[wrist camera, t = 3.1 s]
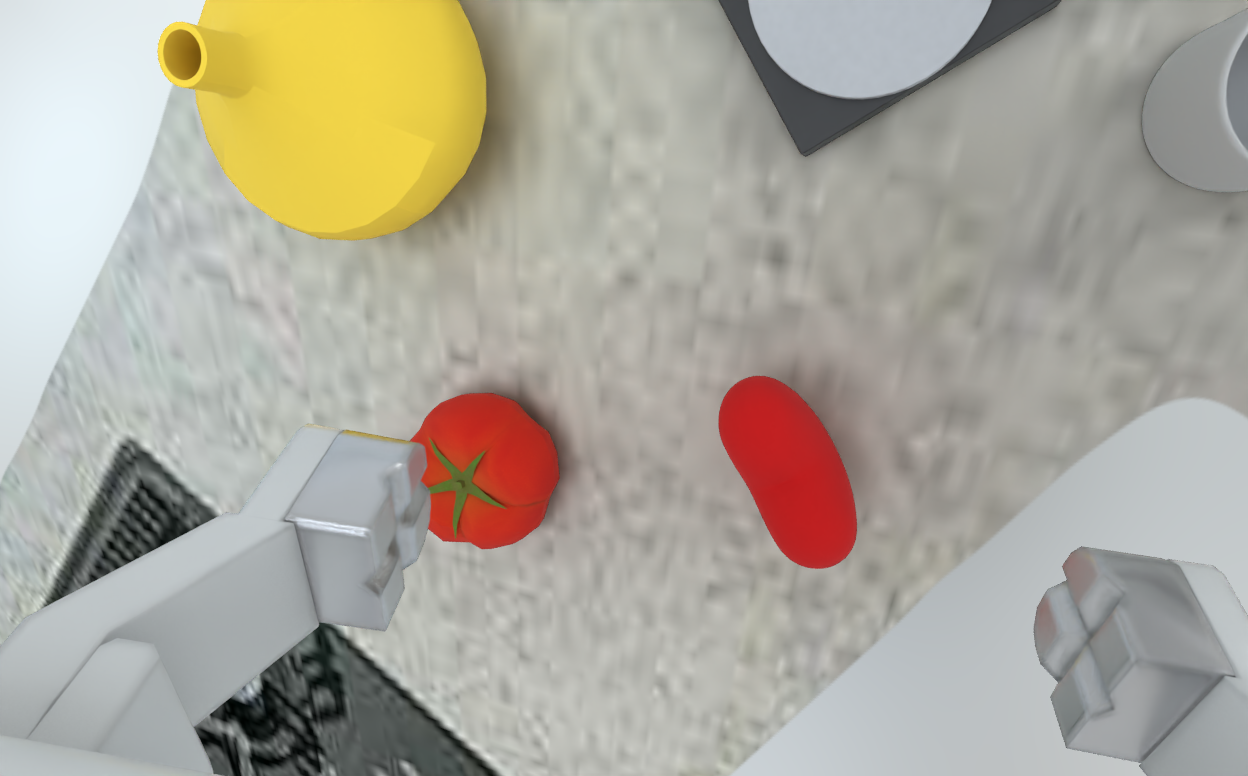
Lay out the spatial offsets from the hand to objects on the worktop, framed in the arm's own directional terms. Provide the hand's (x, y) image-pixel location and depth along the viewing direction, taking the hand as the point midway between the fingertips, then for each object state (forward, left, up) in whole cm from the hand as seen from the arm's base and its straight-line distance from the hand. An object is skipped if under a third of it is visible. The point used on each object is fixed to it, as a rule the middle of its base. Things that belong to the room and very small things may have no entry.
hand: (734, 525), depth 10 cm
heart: (+8, +8, -42) cm, 44 cm away
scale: (-8, -14, -42) cm, 45 cm away
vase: (+21, -25, -42) cm, 54 cm away
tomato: (+28, 0, -42) cm, 51 cm away
